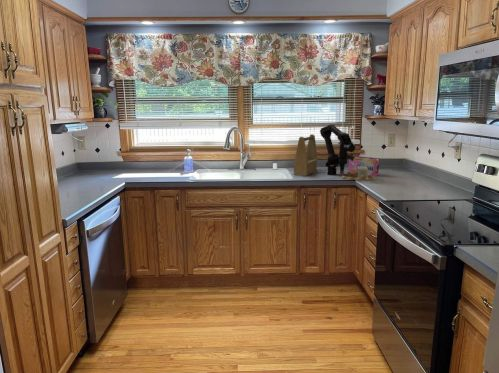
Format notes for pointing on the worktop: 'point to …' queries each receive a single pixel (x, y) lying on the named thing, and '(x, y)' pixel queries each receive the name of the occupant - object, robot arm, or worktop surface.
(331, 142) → the robot arm
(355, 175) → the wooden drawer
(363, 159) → the gum box
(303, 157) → the caddy
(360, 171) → the tunnel
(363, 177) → the board
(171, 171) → the worktop surface
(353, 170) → the block
